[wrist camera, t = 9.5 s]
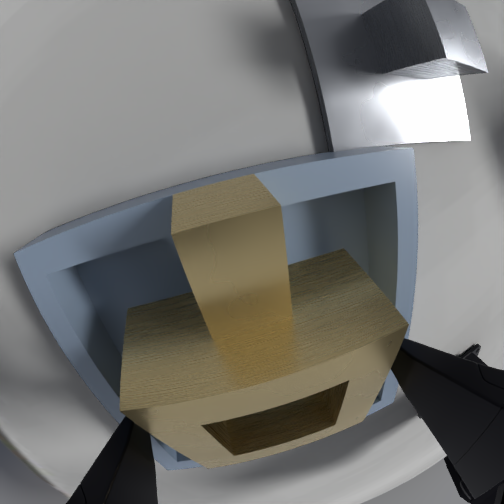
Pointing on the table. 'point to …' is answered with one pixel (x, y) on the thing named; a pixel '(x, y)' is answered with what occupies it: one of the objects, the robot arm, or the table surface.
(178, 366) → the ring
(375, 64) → the grey peg base
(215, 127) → the table surface
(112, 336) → the tray
